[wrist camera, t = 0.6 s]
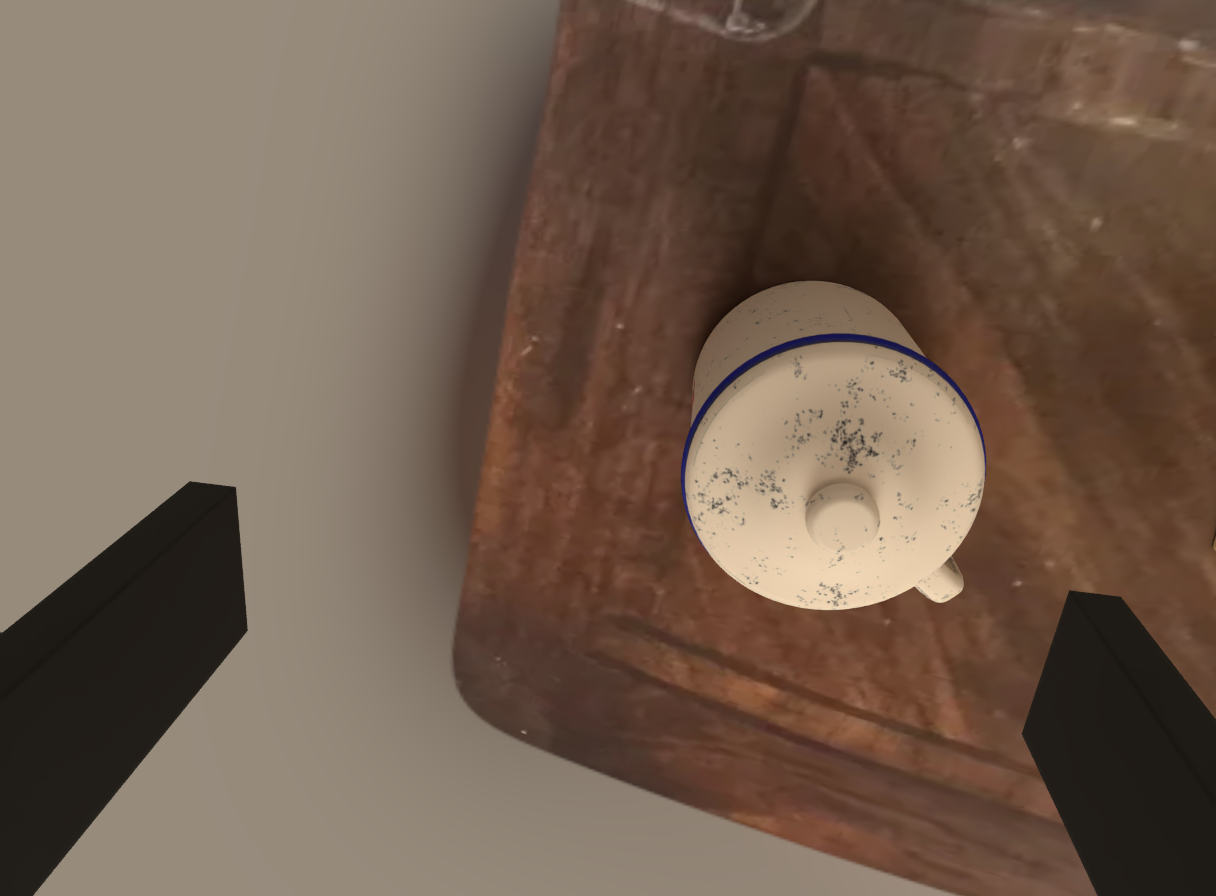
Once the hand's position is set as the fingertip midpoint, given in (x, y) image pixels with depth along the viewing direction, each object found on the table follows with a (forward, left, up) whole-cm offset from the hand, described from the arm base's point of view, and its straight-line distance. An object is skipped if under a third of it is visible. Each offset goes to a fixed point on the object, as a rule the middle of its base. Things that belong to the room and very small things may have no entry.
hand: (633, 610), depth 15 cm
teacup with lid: (+5, +6, -22) cm, 23 cm away
